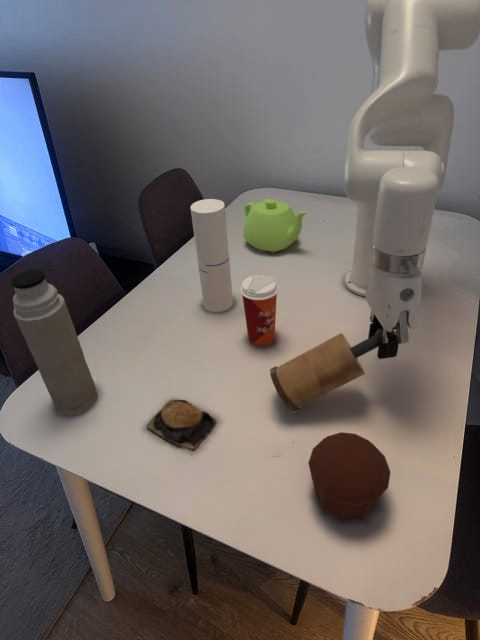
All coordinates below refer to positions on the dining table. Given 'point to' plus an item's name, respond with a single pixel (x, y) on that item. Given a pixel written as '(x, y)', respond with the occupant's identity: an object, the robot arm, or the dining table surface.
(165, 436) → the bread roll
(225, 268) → the cylindrical container
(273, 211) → the teapot
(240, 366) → the dining table surface
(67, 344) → the thermos bottle
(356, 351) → the paper towel holder
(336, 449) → the muffin
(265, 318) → the paper cup
